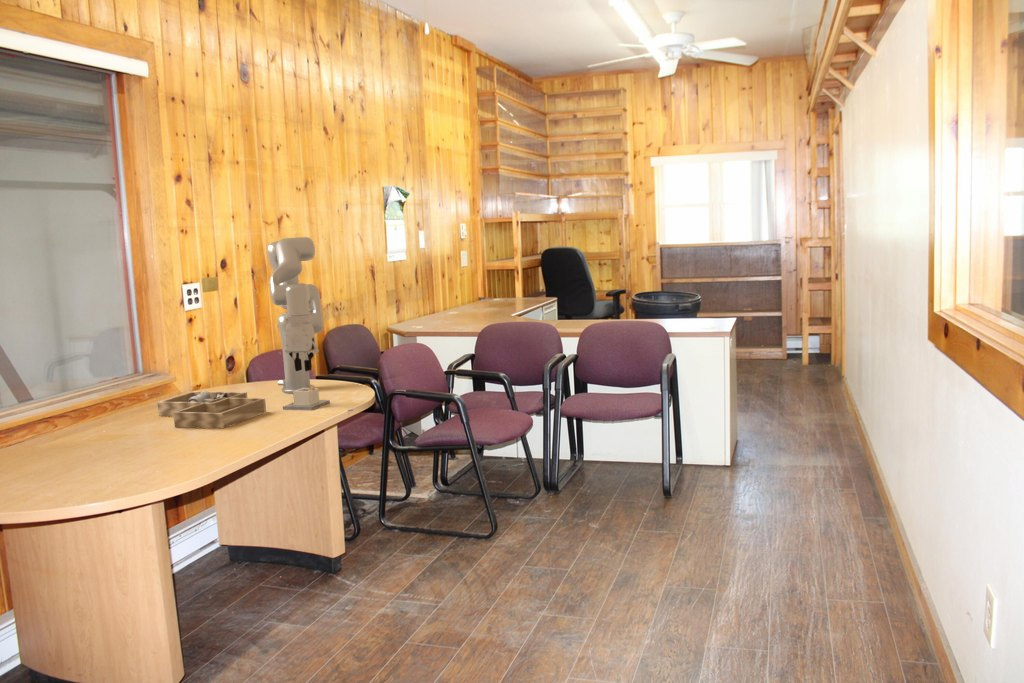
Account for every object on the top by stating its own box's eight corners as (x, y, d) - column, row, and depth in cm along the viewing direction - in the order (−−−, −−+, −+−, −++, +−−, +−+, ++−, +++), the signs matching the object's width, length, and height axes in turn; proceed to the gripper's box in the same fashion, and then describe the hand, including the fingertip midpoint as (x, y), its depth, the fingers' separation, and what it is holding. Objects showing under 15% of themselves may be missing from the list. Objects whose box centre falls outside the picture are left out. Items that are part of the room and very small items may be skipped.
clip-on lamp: (206, 423, 294) (231, 401, 311) (204, 407, 292) (229, 386, 308) (175, 420, 296) (201, 399, 312) (173, 404, 293) (199, 383, 310)
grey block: (304, 401, 305) (302, 385, 304) (320, 401, 303) (318, 385, 302) (294, 405, 299) (292, 389, 298) (310, 405, 297) (308, 389, 296)
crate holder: (158, 415, 298) (157, 402, 297) (194, 404, 315) (193, 391, 315) (214, 417, 290) (213, 403, 289) (248, 405, 308) (246, 392, 307)
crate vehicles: (174, 427, 278) (173, 412, 277) (221, 411, 300) (220, 397, 300) (222, 428, 272) (220, 413, 271) (266, 412, 294) (264, 398, 293)
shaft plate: (282, 409, 298) (281, 394, 297) (301, 402, 309) (300, 387, 308) (311, 410, 294) (310, 394, 293) (329, 402, 305) (328, 388, 304)
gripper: (273, 321, 296) (277, 372, 299) (313, 320, 291) (317, 372, 293) (285, 319, 303) (289, 368, 306) (324, 318, 298) (329, 368, 300)
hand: (303, 370), depth 299 cm, fingers open, 3 cm apart
